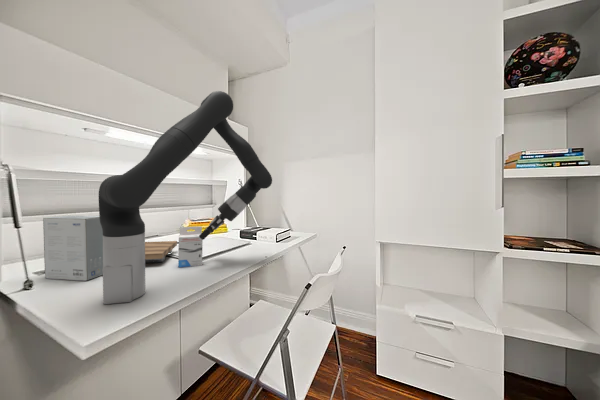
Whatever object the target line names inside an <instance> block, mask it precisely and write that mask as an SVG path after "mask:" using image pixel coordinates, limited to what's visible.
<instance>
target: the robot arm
mask: <svg viewBox="0 0 600 400" xmlns="http://www.w3.org/2000/svg"><path fill="white" fill-rule="evenodd" d="M233 110H234V101H233V99H232V97H231V96H230V95H229V94H228V93H227V92H224V91H223V90H216V91H212V92H211V93H209V94H208V95H207V96H206V97H205V98H204V99H203V100H202V101H201V103H200V105H199V107H198V108H197V109H195V110H194V111H193V112H191V113H189V114H188V115H186V116H185V117H183V118H182V119H181V120H179V121H177V122H176V123H175V124H174V125H172V126H171V127H170V128H169V129H167V130H166V131H165V132H163V134H161V135H160V136H159V137H158V138H157V140H156V141H155V142H154V144H153V145H152V147H151V149H150V151H148V153H147V155H146V156H145V157H144V158H143V159H142V160H140V162H139V163H137V164H135V166H132V168H130V169H129V170H127V171H125V172H124V173H123V174H115V175H111V176H108V177H107V178H105V179H103V181H102V182H101V183H100V186H99V189H98V212H99V214H98V216H99V217H100V224H101V227H102V232H103V275H102V296H103V297H102V301H103V302H102V303H103V305H110V304H112V305H113V304H120V303H121V304H123V303H131V302H132V301H134V300H136V299H138V298H140V297H143V296H144V295H145V293H146V291H147V290H146V263H145V242H146V224H145V222H144V221H143V219H142V217H141V214H140V213H141V212H140V207H141V206H143V205H144V204H145V203H146V202H147V201H148V200H149V199H150V197H151V196H152V195H153V193H154V192H155V191H156V190H157V188H158V187H159V186H160V185H161V183H163V181H164V180H165V179H166V178H167V177H168V176H169V175H170V174H171V173H172V172H173V171H174V170H176V169H177V167H179V166H180V165H181V164H182V162H184V161H185V160H186V159H187V158H188V157H190V155H191V154H192V153H193V152H194V151H195V150H196V149H198V146H200V145H201V143H203V141H204V140H205V139H206V138H207V136H208V135H209V134H210V133H211V131H212V130H213V129H214V130H215V131H216V132H217V134H218V135H219V136H220V137H221V138H222V139H223V141H224V142H225V143H226V144H227V145H228V146H229V148H230V149H231V151H233V153H234V154H235V156H236V158H237V159H238V161H239V162H240V163H241V165H242V166H243V168H244V169H245V170H246V171H247V172H248V173H249V174H250V177H249V178H248V179H247V180H246V181H245V183H244V184H243V185H242V186H241V187H240V188H239V189H237V191H235V193H233V194H232V195H231V196H229V197H228V198H227V199H226V200H225V201H224V202H223V203H222V204H221V205H219V207H218V208H217V211H219V213H220V214H219V215H218V214H217V215H216V216H215V217H213V219H212V220H211V222H210V223H209V224H208V226H206V228H204V230H203V231H202V233H201V234H200V235H199V237H200V238H201V239H202V241H203V240H205V239H206V238H207V237H208V236H209V235H210V234H213V233H214V232H215V231H216V230H218V229H219V227H220V226H222V225H223V224H225V220H228V222H232V221H234V220H235V219H236V218H237V217H238V216H239V215H240V214H241V213H242V212H244V210H245V209H246V208H247V206H248V205H249V204H250V203H252V202H253V201H254V199H255V198H256V197H257V194H258V193H259V191H260V190H265V189H268V188H269V187H271V186H272V184H273V177H272V174H271V173H270V171H269V170H268V169H267V167H266V166H265V165H264V164H263V163H262V161H261V160H260V158H259V156H258V154H257V153H256V151H255V149H254V148H253V147H252V145H251V144H250V143H249V142H248V141H247V140H246V139H245V138H243V136H241V135H240V134H239V133H237V132H236V131H235V130H234V129H233V127H231V124H229V122H228V119H227V118H228V117H229V116H231V114H232V113H233Z"/></svg>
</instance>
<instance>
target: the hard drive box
mask: <svg viewBox="0 0 600 400" xmlns="http://www.w3.org/2000/svg"><path fill="white" fill-rule="evenodd" d="M42 222H43V223H42V225H43V227H42V228H43V230H42V231H43V258H44V259H43V260H44V279H48V280H49V279H50V280H68V281H69V280H70V281H84V282H86V281H90V280H92V279H95V278H97V277H100V276H103V232H102V227H101V224H100V217H99V215H61V216H60V215H59V216H50V217H43V219H42Z"/></svg>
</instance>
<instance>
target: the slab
mask: <svg viewBox="0 0 600 400" xmlns="http://www.w3.org/2000/svg"><path fill="white" fill-rule="evenodd" d="M177 246H178V240H169V241H168V240H165V241H145V259H162V258H163V257H164V256H165V257H166V256H168V255H167V254H168V253H169V252H170V251H171V250H172V251H173V249H175V248H176V247H177Z"/></svg>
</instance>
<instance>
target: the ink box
mask: <svg viewBox="0 0 600 400" xmlns="http://www.w3.org/2000/svg"><path fill="white" fill-rule="evenodd" d="M202 230H203V227H202V226H180V227H179V235H178V248H177V249H178V250H177V252H178V254H177V257H178V258H177V259H178V261H177V262H178V263H177V265H178V267H177V268H186V267H197V266H203V240H202V239H201V238H200V237H199V235H200V234H201V233H203V231H202Z"/></svg>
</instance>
